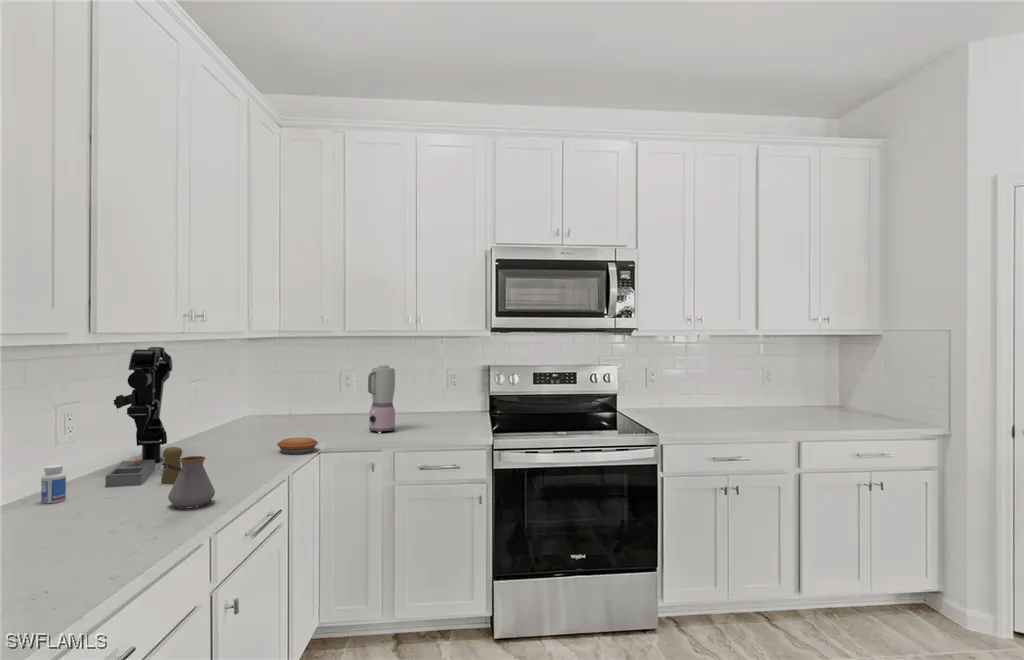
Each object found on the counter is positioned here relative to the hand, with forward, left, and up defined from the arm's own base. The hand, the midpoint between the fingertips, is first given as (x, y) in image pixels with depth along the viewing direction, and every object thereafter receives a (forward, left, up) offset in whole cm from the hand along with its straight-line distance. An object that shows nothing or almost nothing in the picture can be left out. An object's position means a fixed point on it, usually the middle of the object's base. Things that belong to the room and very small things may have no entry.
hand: (143, 432), depth 200 cm
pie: (-19, +50, -13) cm, 55 cm away
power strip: (+11, -1, -13) cm, 17 cm away
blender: (-56, +88, -13) cm, 105 cm away
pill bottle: (+33, -15, -13) cm, 39 cm away
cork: (+20, +12, -13) cm, 27 cm away
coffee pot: (+52, +19, -13) cm, 57 cm away
